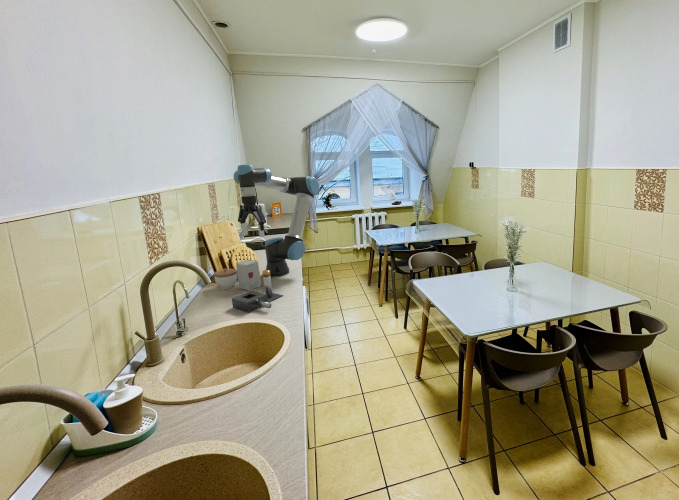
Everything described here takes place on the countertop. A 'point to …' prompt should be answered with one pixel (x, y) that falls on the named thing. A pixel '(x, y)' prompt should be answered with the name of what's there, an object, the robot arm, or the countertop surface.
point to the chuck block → (250, 301)
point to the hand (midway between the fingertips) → (253, 235)
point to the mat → (274, 297)
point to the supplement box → (248, 274)
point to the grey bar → (267, 283)
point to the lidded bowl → (226, 278)
